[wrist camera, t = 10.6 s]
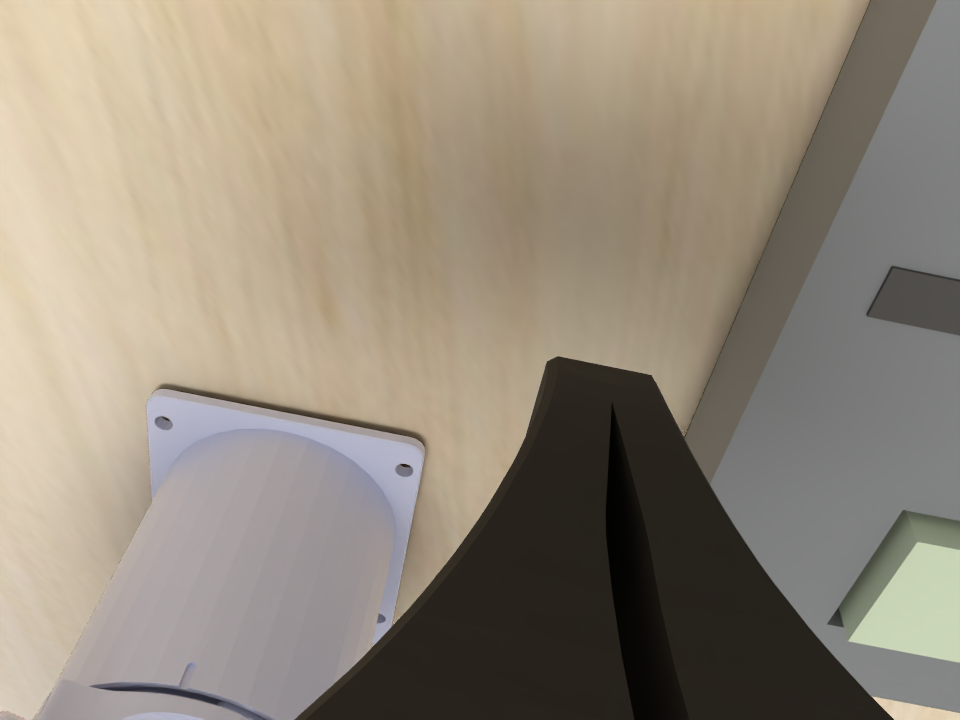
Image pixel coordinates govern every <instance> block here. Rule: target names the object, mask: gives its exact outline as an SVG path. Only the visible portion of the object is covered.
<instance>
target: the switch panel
mask: <svg viewBox="0 0 960 720" xmlns="http://www.w3.org/2000/svg"><path fill="white" fill-rule="evenodd" d="M684 439H685V441H686V443H687V445H688V446H689V448H690V450H691V452H692V454H693V456H694V458H695V459H696V461H697V463H698V465H699V467H700V468H701V470H702V472H703V474H704V475H705V477H706V479H707V480H708V482H709V484H710V486H711V487H712V489H713V491H714V492H715V494H716V496H717V498H718V499H719V501H720V503H721V504H722V506H723V508H724V509H725V511H726V513H727V514H728V516H729V517H730V519H731V521H732V522H733V524H734V525H735V527H736V529H737V530H738V532H739V533H740V535H741V536H742V538H743V539H744V541H745V542H746V544H747V545H748V547H749V548H750V550H751V551H752V553H753V554H754V556H755V557H756V559H757V560H758V562H759V563H760V564H761V566H762V567H763V569H764V570H765V571H766V573H767V574H768V575H769V577H770V578H771V580H772V581H773V582H774V584H775V585H776V586H777V587H778V589H779V590H780V591H781V592H782V594H783V595H784V596H785V597H786V599H787V600H788V601H789V603H790V604H791V605H792V606H793V608H794V609H795V610H796V611H797V613H798V614H799V615H800V616H801V618H802V619H803V620H804V622H805V623H806V624H807V625H808V627H809V628H810V629H811V630H812V631H813V632H814V634H815V635H816V636H817V637H818V638H819V639H820V641H821V642H822V643H823V644H824V645H825V646H826V648H827V649H828V650H829V651H830V652H831V653H832V654H833V656H834V657H835V658H836V659H837V660H838V661H839V662H840V663H841V664H842V665H843V666H844V668H845V669H846V670H847V671H848V672H849V673H850V674H851V675H852V676H853V677H854V678H855V679H856V681H857V682H858V683H859V684H860V685H861V686H862V687H863V688H864V689H865V690H866V691H867V693H868V694H869V695H870V696H874V697H879V698H884V699H889V700H895V701H900V702H905V703H910V704H916V705H921V706H926V707H931V708H937V709H942V710H947V711H952V712H958V713H960V663H958V662H953V661H948V660H943V659H937V658H932V657H927V656H922V655H917V654H912V653H906V652H901V651H896V650H891V649H886V648H880V647H875V646H870V645H865V644H860V643H854V642H849V641H848V640H847V636H846V633H845V629H844V625H843V622H842V618H841V614H840V611H839V605H840V604H841V602H842V601H843V599H844V598H845V596H846V595H847V593H848V592H849V590H850V589H851V587H852V586H853V584H854V583H855V581H856V580H857V578H858V577H859V575H860V574H861V572H862V571H863V569H864V568H865V566H866V565H867V563H868V562H869V560H870V559H871V557H872V556H873V554H874V553H875V551H876V550H877V548H878V547H879V545H880V544H881V542H882V541H883V539H884V538H885V536H886V535H887V533H888V532H889V530H890V529H891V527H892V526H893V524H894V523H895V521H896V520H897V518H898V517H899V515H900V514H901V512H902V511H903V510H907V511H912V512H917V513H922V514H927V515H932V516H937V517H942V518H947V519H952V520H957V521H960V0H871V1H870V4H869V6H868V8H867V11H866V13H865V16H864V18H863V20H862V23H861V25H860V27H859V30H858V32H857V34H856V37H855V39H854V41H853V44H852V46H851V48H850V51H849V53H848V55H847V58H846V60H845V63H844V65H843V67H842V70H841V72H840V74H839V77H838V79H837V81H836V84H835V86H834V88H833V91H832V93H831V95H830V98H829V100H828V102H827V105H826V107H825V109H824V112H823V114H822V117H821V119H820V121H819V124H818V126H817V128H816V131H815V133H814V135H813V138H812V140H811V142H810V145H809V147H808V149H807V152H806V154H805V156H804V159H803V161H802V163H801V166H800V168H799V171H798V173H797V175H796V178H795V180H794V182H793V185H792V187H791V189H790V192H789V194H788V196H787V199H786V201H785V203H784V206H783V208H782V210H781V213H780V215H779V217H778V220H777V222H776V225H775V227H774V229H773V232H772V234H771V236H770V239H769V241H768V243H767V246H766V248H765V250H764V253H763V255H762V257H761V260H760V262H759V264H758V267H757V269H756V271H755V274H754V276H753V279H752V281H751V283H750V286H749V288H748V290H747V293H746V295H745V297H744V300H743V302H742V304H741V307H740V309H739V311H738V314H737V316H736V318H735V321H734V323H733V326H732V328H731V330H730V333H729V335H728V337H727V340H726V342H725V344H724V347H723V349H722V351H721V354H720V356H719V358H718V361H717V363H716V365H715V368H714V370H713V372H712V375H711V377H710V380H709V382H708V384H707V387H706V389H705V391H704V394H703V396H702V398H701V401H700V403H699V405H698V408H697V410H696V412H695V415H694V417H693V419H692V422H691V424H690V426H689V429H688V431H687V434H686V436H685V438H684Z"/></svg>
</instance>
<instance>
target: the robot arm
mask: <svg viewBox="0 0 960 720" xmlns="http://www.w3.org/2000/svg"><path fill="white" fill-rule="evenodd" d="M146 410H147V427H148V444H149V461H150V478H151V495H152V503H151V504H150V506H149V508H148V510H147V512H146V514H145V516H144V518H143V520H142V521H141V523H140V525H139V527H138V529H137V531H136V533H135V535H134V537H133V538H132V540H131V542H130V544H129V546H128V548H127V550H126V552H125V554H124V555H123V557H122V559H121V561H120V563H119V565H118V567H117V569H116V571H115V572H114V574H113V576H112V578H111V580H110V582H109V584H108V586H107V588H106V589H105V591H104V593H103V595H102V597H101V599H100V601H99V603H98V605H97V606H96V608H95V610H94V612H93V614H92V616H91V618H90V620H89V622H88V623H87V625H86V627H85V629H84V631H83V633H82V635H81V637H80V639H79V640H78V642H77V644H76V646H75V648H74V650H73V652H72V654H71V656H70V657H69V659H68V661H67V663H66V665H65V667H64V669H63V671H62V673H61V675H60V676H59V678H58V680H57V682H56V684H55V686H54V688H53V690H52V691H51V693H50V695H49V696H48V698H47V699H46V701H45V702H44V704H43V705H42V707H41V708H40V710H39V711H38V713H37V714H36V716H35V717H34V719H33V720H894V719H893V718H892V717H891V716H890V715H889V714H888V713H887V712H886V711H885V710H884V709H883V708H882V707H881V706H880V705H879V704H878V703H877V702H876V701H875V700H874V699H873V698H872V697H871V696H870V695H869V694H868V693H867V691H866V690H865V689H864V688H863V687H862V686H861V685H860V684H859V683H858V682H857V681H856V679H855V678H854V677H853V676H852V675H851V674H850V673H849V672H848V671H847V670H846V669H845V668H844V666H843V665H842V664H841V663H840V662H839V661H838V660H837V659H836V658H835V657H834V656H833V654H832V653H831V652H830V651H829V650H828V649H827V648H826V646H825V645H824V644H823V643H822V642H821V641H820V639H819V638H818V637H817V636H816V635H815V634H814V632H813V631H812V630H811V629H810V628H809V627H808V625H807V624H806V623H805V622H804V620H803V619H802V618H801V616H800V615H799V614H798V613H797V611H796V610H795V609H794V608H793V606H792V605H791V604H790V603H789V601H788V600H787V599H786V597H785V596H784V595H783V594H782V592H781V591H780V590H779V589H778V587H777V586H776V585H775V584H774V582H773V581H772V580H771V578H770V577H769V575H768V574H767V573H766V571H765V570H764V569H763V567H762V566H761V564H760V563H759V562H758V560H757V559H756V557H755V556H754V554H753V553H752V551H751V550H750V548H749V547H748V545H747V544H746V542H745V541H744V539H743V538H742V536H741V535H740V533H739V532H738V530H737V529H736V527H735V525H734V524H733V522H732V521H731V519H730V517H729V516H728V514H727V513H726V511H725V509H724V508H723V506H722V504H721V503H720V501H719V499H718V498H717V496H716V494H715V492H714V491H713V489H712V487H711V486H710V484H709V482H708V480H707V479H706V477H705V475H704V474H703V472H702V470H701V468H700V467H699V465H698V463H697V461H696V459H695V458H694V456H693V454H692V452H691V450H690V448H689V446H688V445H687V443H686V441H685V439H684V437H683V435H682V433H681V431H680V429H679V427H678V425H677V424H676V422H675V420H674V418H673V416H672V414H671V412H670V410H669V408H668V406H667V404H666V402H665V400H664V398H663V396H662V394H661V392H660V390H659V388H658V386H657V384H656V382H655V381H654V379H653V377H652V376H651V375H648V374H643V373H638V372H633V371H628V370H623V369H618V368H613V367H608V366H603V365H598V364H593V363H588V362H583V361H578V360H573V359H568V358H563V357H559V356H558V357H555V358H553V359H551V360H549V361H547V363H546V367H545V370H544V374H543V377H542V381H541V384H540V388H539V392H538V395H537V399H536V402H535V406H534V409H533V413H532V416H531V420H530V423H529V427H528V430H527V434H526V437H525V439H524V441H523V444H522V446H521V448H520V450H519V452H518V454H517V456H516V458H515V460H514V462H513V464H512V465H511V467H510V469H509V471H508V472H507V474H506V476H505V477H504V479H503V481H502V482H501V484H500V486H499V488H498V489H497V491H496V493H495V494H494V496H493V498H492V499H491V501H490V503H489V504H488V506H487V507H486V509H485V510H484V512H483V513H482V515H481V516H480V518H479V519H478V521H477V522H476V524H475V525H474V527H473V528H472V530H471V531H470V533H469V534H468V535H467V537H466V538H465V539H464V541H463V542H462V544H461V545H460V546H459V548H458V549H457V550H456V552H455V553H454V554H453V556H452V557H451V558H450V560H449V561H448V562H447V563H446V565H445V566H444V567H443V568H442V570H441V571H440V572H439V573H438V575H437V576H436V577H435V578H434V580H433V581H432V582H431V583H430V584H429V586H428V587H427V588H426V589H425V591H424V592H423V593H422V594H421V595H420V596H419V598H418V599H417V600H416V601H415V602H414V603H413V604H412V606H411V607H410V608H409V609H408V610H407V611H406V612H405V613H404V614H403V615H402V616H401V618H400V619H399V620H398V621H397V622H396V623H395V624H394V625H393V626H392V622H393V617H394V612H395V607H396V601H397V596H398V591H399V586H400V581H401V576H402V571H403V565H404V560H405V555H406V550H407V545H408V540H409V535H410V529H411V524H412V519H413V514H414V509H415V504H416V498H417V493H418V488H419V483H420V478H421V473H422V468H423V462H424V457H425V447H424V446H423V444H422V443H421V442H420V441H418V440H417V439H415V438H412V437H408V436H402V435H397V434H392V433H387V432H382V431H377V430H372V429H367V428H362V427H357V426H352V425H347V424H341V423H336V422H331V421H326V420H321V419H316V418H311V417H306V416H301V415H296V414H291V413H286V412H280V411H275V410H270V409H265V408H260V407H255V406H250V405H245V404H240V403H235V402H230V401H225V400H219V399H214V398H209V397H204V396H199V395H194V394H189V393H184V392H179V391H174V390H169V389H159V390H156V391H154V392H153V393H152V394H151V396H150V397H149V399H148V401H147V405H146ZM161 416H164V417H166V418H168V419H170V420H171V421H167V420H164V419H163V418H162V417H161ZM400 464H407V465H410V466H411V467H403V466H401V465H400ZM372 644H375V645H374V646H373V647H372V648H371V646H372ZM0 720H26V719H24V718H22V717H20V716H17V715H15V714H13V713H10V712H7V711H2V712H0Z"/></svg>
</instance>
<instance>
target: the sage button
mask: <svg viewBox="0 0 960 720" xmlns="http://www.w3.org/2000/svg"><path fill="white" fill-rule="evenodd" d="M839 611H840V614H841V618H842V622H843V625H844V629H845V633H846V636H847V640H848V641H849V642H854V643H860V644H865V645H870V646H875V647H880V648H886V649H891V650H896V651H901V652H906V653H912V654H917V655H922V656H927V657H932V658H937V659H943V660H948V661H953V662H958V663H960V521H957V520H952V519H947V518H942V517H937V516H932V515H927V514H922V513H917V512H912V511H907V510H903V511H902V512H901V514H900V515H899V517H898V518H897V520H896V521H895V523H894V524H893V526H892V527H891V529H890V530H889V532H888V533H887V535H886V536H885V538H884V539H883V541H882V542H881V544H880V545H879V547H878V548H877V550H876V551H875V553H874V554H873V556H872V557H871V559H870V560H869V562H868V563H867V565H866V566H865V568H864V569H863V571H862V572H861V574H860V575H859V577H858V578H857V580H856V581H855V583H854V584H853V586H852V587H851V589H850V590H849V592H848V593H847V595H846V596H845V598H844V599H843V601H842V602H841V604H840V605H839Z"/></svg>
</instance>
